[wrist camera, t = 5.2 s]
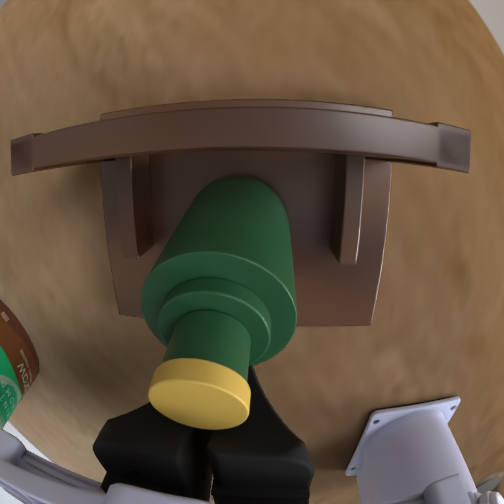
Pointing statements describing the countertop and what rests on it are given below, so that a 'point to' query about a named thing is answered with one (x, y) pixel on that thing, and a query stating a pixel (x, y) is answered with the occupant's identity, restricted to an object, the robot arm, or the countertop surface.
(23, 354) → the food container
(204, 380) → the bottle
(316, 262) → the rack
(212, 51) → the countertop surface
